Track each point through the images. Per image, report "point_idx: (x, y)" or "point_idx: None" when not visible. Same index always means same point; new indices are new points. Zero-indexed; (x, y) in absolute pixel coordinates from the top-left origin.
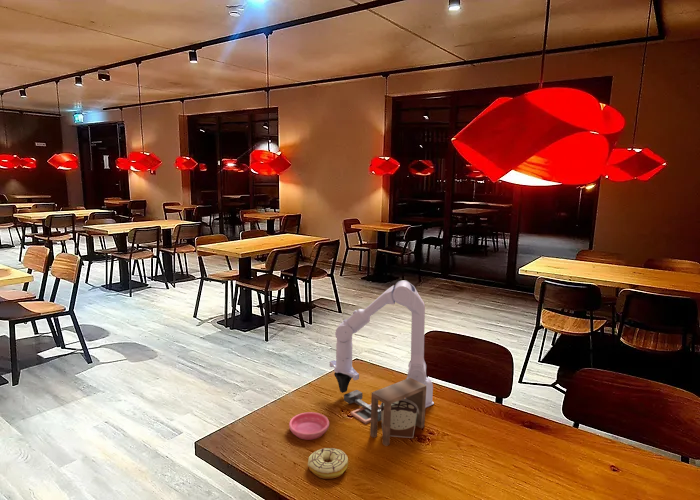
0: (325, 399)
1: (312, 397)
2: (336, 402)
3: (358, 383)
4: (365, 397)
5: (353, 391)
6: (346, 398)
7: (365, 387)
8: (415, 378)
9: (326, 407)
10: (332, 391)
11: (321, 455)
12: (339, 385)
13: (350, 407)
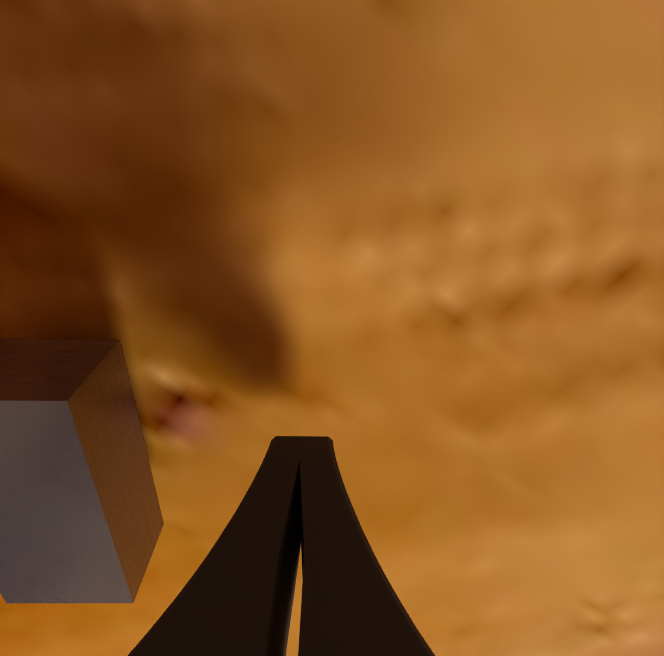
0: (414, 183)
1: (641, 28)
2: (234, 262)
3: (427, 634)
4: (160, 552)
5: (105, 552)
6: (13, 373)
7: None
8: None
9: (176, 7)
10: (509, 395)
11: None
12: (323, 516)
13: (15, 326)
